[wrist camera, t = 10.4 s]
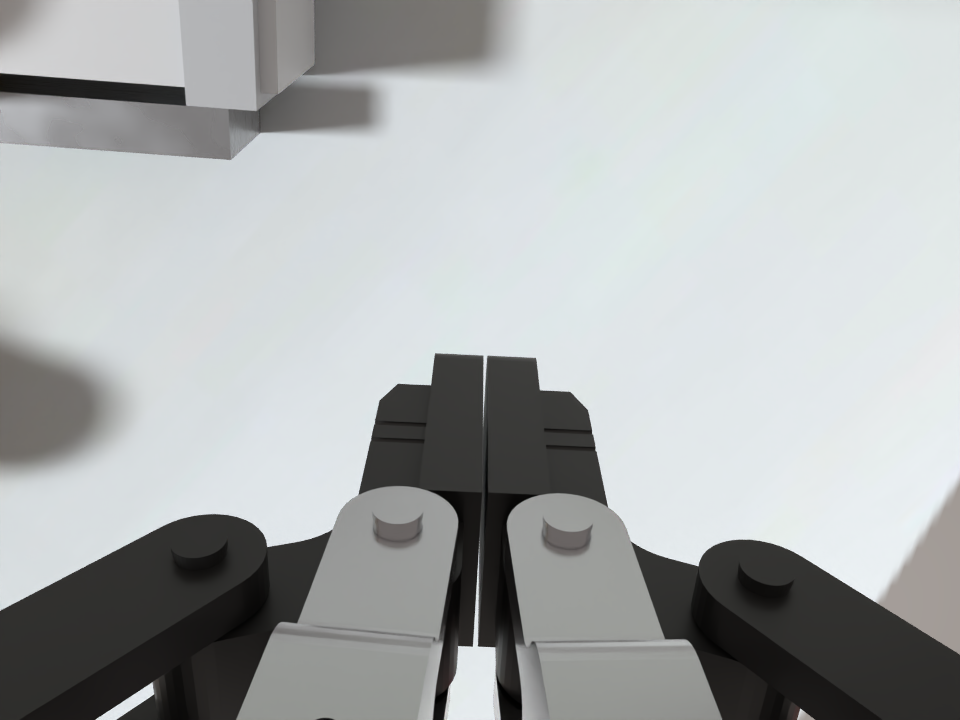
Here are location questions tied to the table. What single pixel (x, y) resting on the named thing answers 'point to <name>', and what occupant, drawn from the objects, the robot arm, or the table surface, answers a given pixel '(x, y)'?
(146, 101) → the valve coupling
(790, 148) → the table surface
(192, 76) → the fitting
